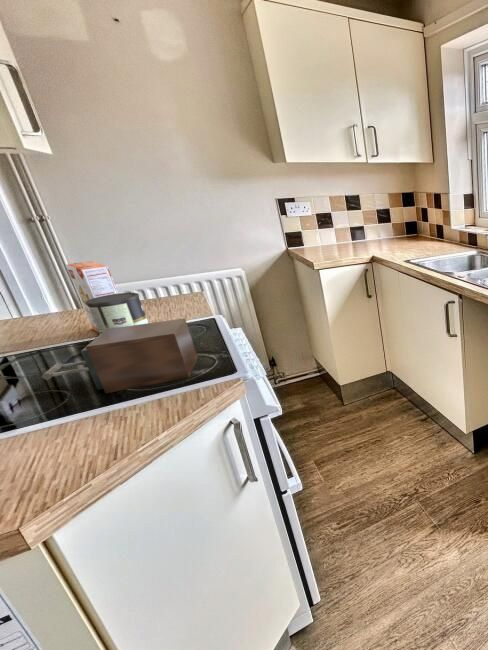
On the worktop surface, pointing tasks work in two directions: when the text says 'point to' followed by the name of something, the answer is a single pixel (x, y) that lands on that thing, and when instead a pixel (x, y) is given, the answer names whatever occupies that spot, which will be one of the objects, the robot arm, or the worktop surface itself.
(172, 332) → the cabinet
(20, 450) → the worktop surface
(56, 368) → the drawer
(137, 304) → the coffee can
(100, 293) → the cracker box
